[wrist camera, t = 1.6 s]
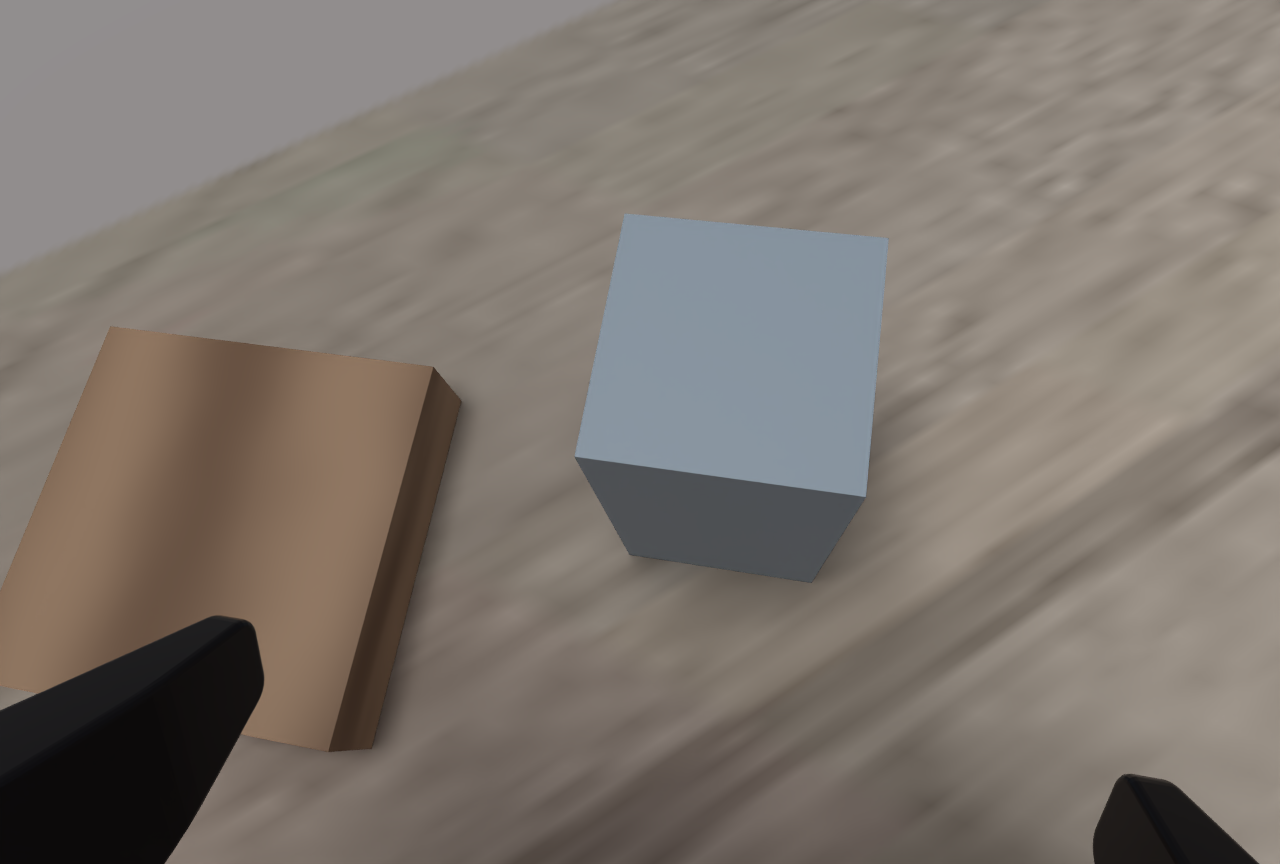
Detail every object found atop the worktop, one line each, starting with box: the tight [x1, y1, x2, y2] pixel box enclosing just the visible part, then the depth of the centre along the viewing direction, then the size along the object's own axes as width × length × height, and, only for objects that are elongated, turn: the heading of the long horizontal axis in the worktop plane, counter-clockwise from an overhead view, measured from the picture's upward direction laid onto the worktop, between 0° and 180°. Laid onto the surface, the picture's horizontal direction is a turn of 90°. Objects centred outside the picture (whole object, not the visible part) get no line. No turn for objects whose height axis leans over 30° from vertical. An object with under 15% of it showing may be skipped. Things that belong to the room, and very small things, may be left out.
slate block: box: [575, 214, 889, 583], centre depth 19 cm, size 5×5×9 cm
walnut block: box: [0, 326, 461, 752], centre depth 23 cm, size 10×10×3 cm
